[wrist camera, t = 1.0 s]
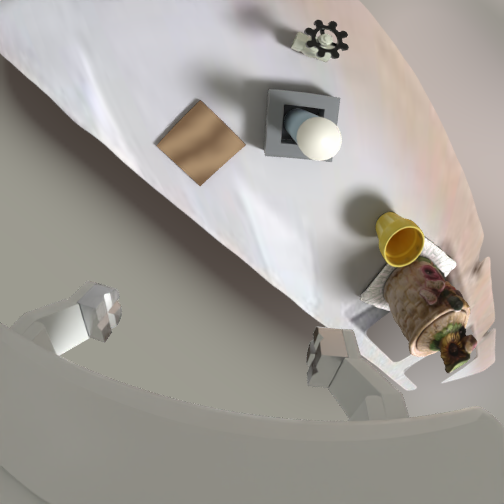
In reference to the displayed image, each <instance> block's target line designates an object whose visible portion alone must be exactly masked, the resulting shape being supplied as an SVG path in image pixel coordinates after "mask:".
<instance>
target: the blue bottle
mask: <svg viewBox="0 0 504 504" xmlns="http://www.w3.org/2000/svg"><path fill="white" fill-rule="evenodd" d="M284 127H285V129H286V130H287V132H288V133H289V134H290V135H291V137H292V138H293V139H294V140H295V142H296V143H297V144H298V146H299V148H300V150H301V151H302V152H303V154H304V155H306V156H307V157H308V158H310V159H313V160H317V161H323V160H327V159H330V158H331V157H333V156H334V155H335V154H336V153H337V152H338V150H339V149H340V146H341V141H342V138H341V133H340V130H339V128H338V127H337V126H336V125H335V124H334V123H333V122H332V121H330V120H328V119H326V118H323V117H319V116H317V115H315V114H312V113H310V112H308V111H306V110H303V109H293V110H291V111H289V112H288V113H287V114H286V116H285V118H284Z"/></svg>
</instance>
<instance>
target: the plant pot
mask: <svg viewBox="0 0 504 504" xmlns="http://www.w3.org/2000/svg"><path fill="white" fill-rule="evenodd" d="M376 232H377V235H378V238H379V249H380V252H381V254H382V256H383V258H384V259H385V261H386V262H387V263H388V264H389V265H391V266H393V267H403V266H406V265H408V264H410V263H412V262H413V261H414V260H416V259H417V257H418V256H419V255H420V254H421V252H422V250H423V247H424V243H425V238H424V234H423V232H422V230H421V229H420V228H419V227H418V226H417V225H416V224H415V223H414V222H413V221H411V220H409V219H404V218H402V217H401V216H399V215H397V214H396V213H393V212H387V213H385V214H383V215H382V216H380V217H379V219H378V220H377V222H376Z"/></svg>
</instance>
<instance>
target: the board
mask: <svg viewBox="0 0 504 504" xmlns="http://www.w3.org/2000/svg"><path fill="white" fill-rule="evenodd" d="M245 145H246V144H245V143H244V142H243V141H242V140H241V139H240V138H239V137H238V136H237V135H236V134H235V133H234V132H233V131H232V130H231V129H230V128H229V127H228V126H227V125H226V124H225V123H224V122H223V121H222V120H221V119H220V118H219V117H218V116H217V115H216V114H215V113H214V112H213V111H212V110H211V109H210V108H209V107H207V106H206V105H205V104H204V103H203V102H202V101H201V100H200V101H199V102H198V103H197V104H196V105H195V106H194V107H193V108H192V109H191V110H190V111H189V112H188V113H187V114H186V115H185V116H184V117H183V118H182V119H181V120H180V121H179V122H178V123H177V124H176V125H175V126H174V127H173V128H172V129H171V130H170V131H169V132H168V134H167V135H166V136H165V137H164V138H163V139H162V140H161V141H160V142H159V143H158V145H157V147H158V148H159V149H161V150H162V151H163V152H164V153H165V154H166V155H167V156H168V157H169V158H170V159H171V160H172V161H174V162H175V163H176V164H177V165H178V166H179V167H180V168H181V169H182V170H183V171H184V172H185V173H187V174H188V175H189V176H190V177H191V178H192V179H193V180H194V181H195V182H196V183H197V184H198V185H199V186H201V185H202V184H203V183H204V182H205V181H206V180H207V179H208V178H210V177H211V176H212V175H213V174H214V173H215V172H216V171H217V170H218V169H219V168H220V167H222V166H223V165H224V164H225V163H226V162H227V161H228V160H229V159H230V158H232V157H233V156H234V155H235V154H236V153H237V152H238V151H239V150H241V149H242V148H243V147H244V146H245Z"/></svg>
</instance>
